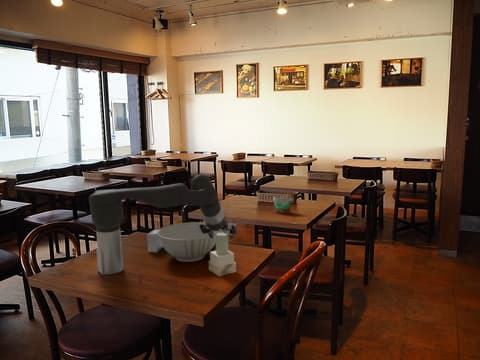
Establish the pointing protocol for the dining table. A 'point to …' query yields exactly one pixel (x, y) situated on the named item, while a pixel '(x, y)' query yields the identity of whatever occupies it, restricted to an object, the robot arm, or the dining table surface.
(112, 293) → the dining table surface
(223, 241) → the pale green block
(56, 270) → the dining table surface
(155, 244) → the medicine box
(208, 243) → the decorative bowl
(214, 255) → the white block
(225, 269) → the bottom block
